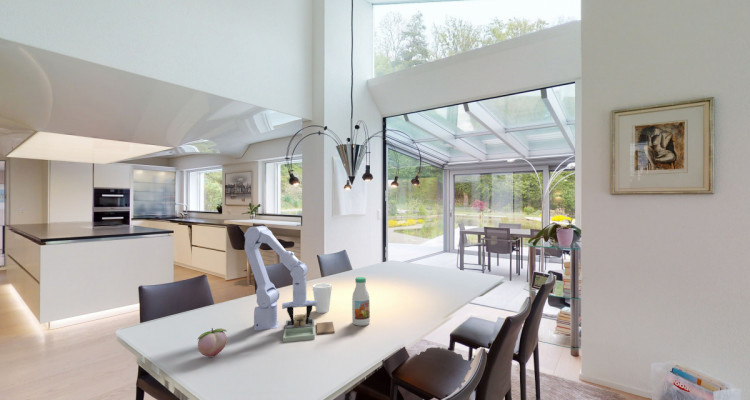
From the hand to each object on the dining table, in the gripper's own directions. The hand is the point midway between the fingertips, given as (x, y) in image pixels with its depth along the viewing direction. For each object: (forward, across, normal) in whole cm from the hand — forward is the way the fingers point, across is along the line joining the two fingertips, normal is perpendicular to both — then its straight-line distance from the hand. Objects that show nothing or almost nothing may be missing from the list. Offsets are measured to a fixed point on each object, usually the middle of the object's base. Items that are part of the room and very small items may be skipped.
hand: (299, 323), depth 137 cm
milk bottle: (+2, +26, -1) cm, 27 cm away
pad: (+2, +10, -5) cm, 12 cm away
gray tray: (+2, 0, 0) cm, 2 cm away
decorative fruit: (+2, -30, -20) cm, 36 cm away
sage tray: (+2, 0, -10) cm, 10 cm away
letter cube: (+1, 0, 0) cm, 1 cm away
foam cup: (+2, +10, +19) cm, 22 cm away
